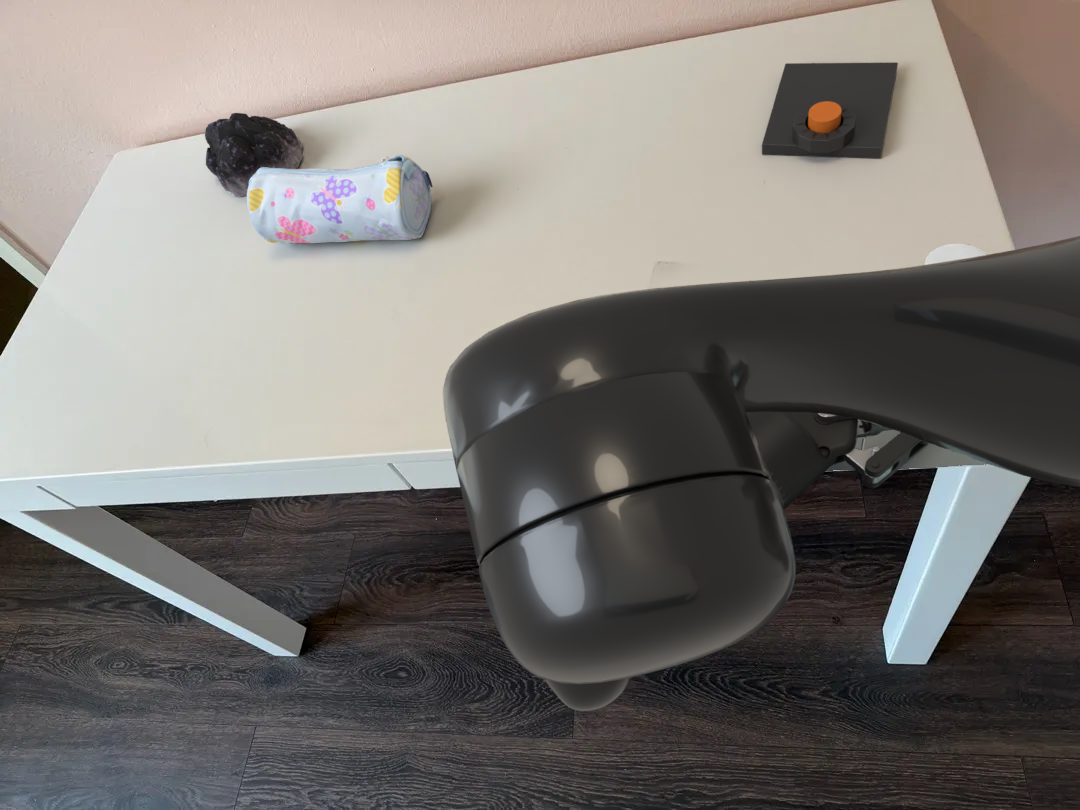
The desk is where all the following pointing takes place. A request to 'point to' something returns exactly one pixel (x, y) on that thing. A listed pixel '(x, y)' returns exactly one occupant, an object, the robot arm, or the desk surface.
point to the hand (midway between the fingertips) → (891, 340)
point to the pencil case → (341, 203)
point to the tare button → (824, 117)
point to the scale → (846, 84)
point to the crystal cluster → (249, 149)
